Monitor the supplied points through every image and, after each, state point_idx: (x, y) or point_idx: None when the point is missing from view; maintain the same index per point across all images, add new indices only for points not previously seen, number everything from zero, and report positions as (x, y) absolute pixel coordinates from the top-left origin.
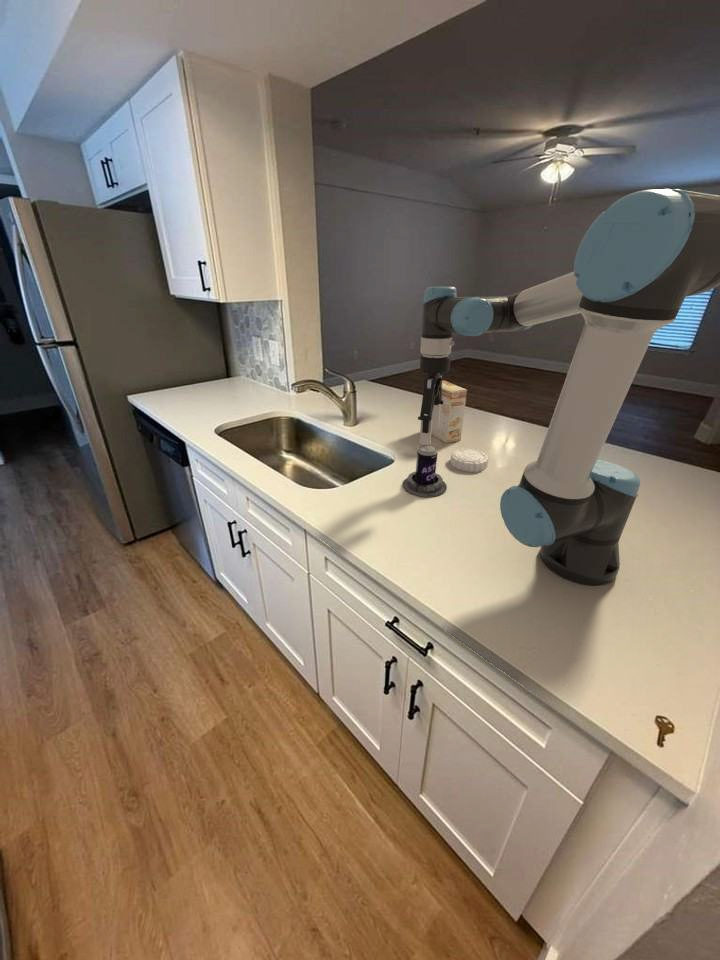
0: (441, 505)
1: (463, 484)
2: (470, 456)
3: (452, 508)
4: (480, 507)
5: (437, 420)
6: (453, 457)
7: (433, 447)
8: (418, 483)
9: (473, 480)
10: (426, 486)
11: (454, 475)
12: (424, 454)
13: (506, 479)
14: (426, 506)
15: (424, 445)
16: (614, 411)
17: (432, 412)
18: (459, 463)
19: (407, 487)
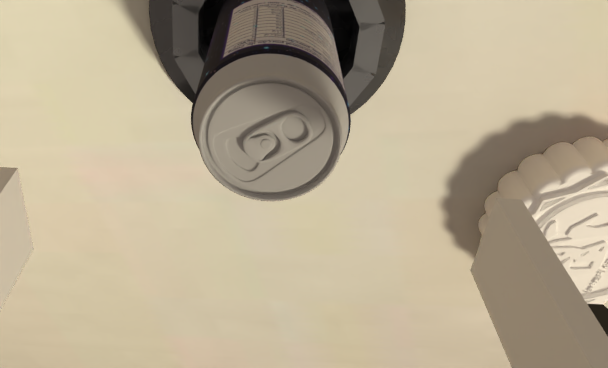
0: (108, 117)
1: (342, 198)
2: (567, 251)
3: (103, 162)
4: (157, 255)
5: (496, 314)
6: (572, 174)
7: (305, 178)
8: (224, 2)
9: (389, 234)
10: (179, 57)
11: (432, 160)
12: (194, 116)
13: (416, 334)
14: (67, 51)
15: (330, 113)
16: None
17: (550, 337)
18: (513, 197)
19: None
